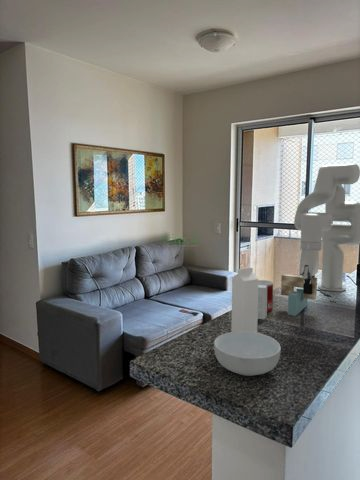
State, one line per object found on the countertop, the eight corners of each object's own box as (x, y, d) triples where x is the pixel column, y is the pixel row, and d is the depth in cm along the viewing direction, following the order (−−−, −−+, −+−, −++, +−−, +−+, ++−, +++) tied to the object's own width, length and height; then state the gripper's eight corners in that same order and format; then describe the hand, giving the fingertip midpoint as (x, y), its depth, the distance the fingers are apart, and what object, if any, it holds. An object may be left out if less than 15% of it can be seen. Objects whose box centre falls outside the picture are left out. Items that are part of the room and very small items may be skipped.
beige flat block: (280, 294, 143) (281, 275, 142) (283, 293, 145) (283, 273, 144) (314, 299, 135) (315, 279, 134) (316, 297, 138) (317, 277, 137)
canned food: (270, 306, 146) (271, 280, 144) (273, 312, 138) (274, 285, 136) (251, 306, 146) (252, 280, 145) (253, 312, 138) (254, 284, 137)
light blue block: (299, 304, 148) (300, 285, 147) (307, 305, 147) (307, 286, 146) (287, 314, 135) (288, 294, 134) (295, 316, 134) (296, 295, 133)
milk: (257, 336, 114) (259, 269, 112) (242, 340, 111) (244, 271, 109) (245, 330, 120) (246, 266, 117) (230, 333, 117) (232, 267, 114)
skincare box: (267, 316, 133) (267, 285, 132) (264, 320, 129) (265, 288, 128) (251, 314, 136) (251, 283, 134) (248, 317, 132) (248, 286, 131)
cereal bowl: (202, 373, 90) (202, 346, 90) (230, 349, 104) (230, 326, 103) (266, 393, 81) (267, 363, 80) (288, 364, 95) (289, 339, 94)
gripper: (306, 243, 145) (304, 287, 147) (294, 247, 131) (292, 296, 133) (325, 244, 140) (323, 289, 142) (315, 249, 127) (313, 299, 129)
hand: (308, 292), depth 138 cm, fingers closed on beige flat block, 3 cm apart
